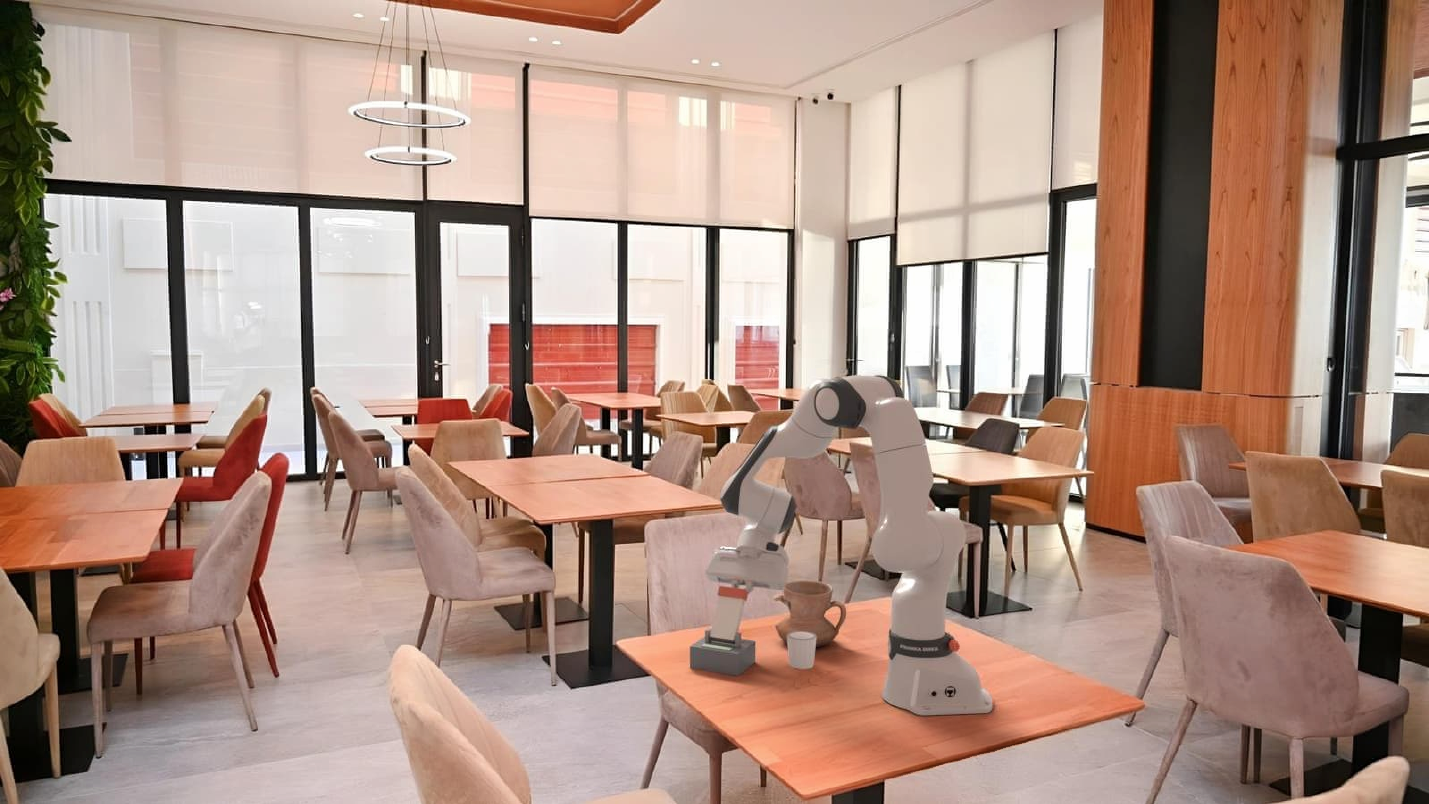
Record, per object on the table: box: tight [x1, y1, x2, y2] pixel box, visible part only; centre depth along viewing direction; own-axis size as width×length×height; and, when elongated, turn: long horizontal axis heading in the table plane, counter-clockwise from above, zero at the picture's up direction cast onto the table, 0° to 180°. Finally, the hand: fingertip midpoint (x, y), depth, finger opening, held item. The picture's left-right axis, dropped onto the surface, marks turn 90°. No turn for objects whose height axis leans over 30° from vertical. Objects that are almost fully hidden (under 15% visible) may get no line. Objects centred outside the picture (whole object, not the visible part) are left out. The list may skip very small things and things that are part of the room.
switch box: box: [689, 627, 756, 677], centre depth 221 cm, size 10×12×8 cm
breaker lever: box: [710, 585, 749, 644], centre depth 223 cm, size 3×6×13 cm, turn 65°
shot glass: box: [786, 631, 817, 670], centre depth 221 cm, size 7×7×7 cm
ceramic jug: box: [773, 579, 847, 648], centre depth 237 cm, size 18×14×14 cm
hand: (737, 599), depth 227 cm, fingers closed
